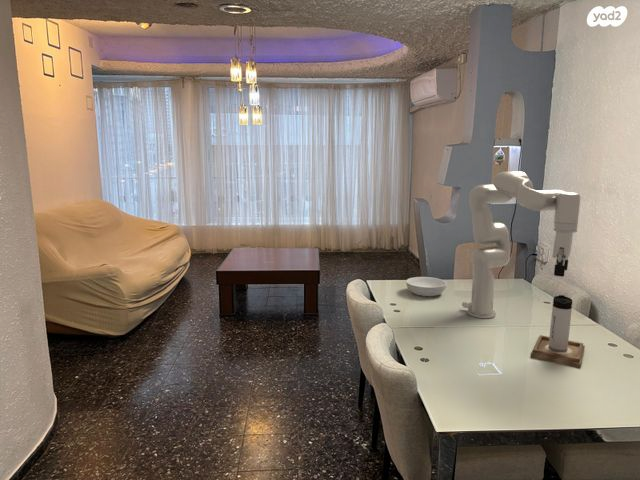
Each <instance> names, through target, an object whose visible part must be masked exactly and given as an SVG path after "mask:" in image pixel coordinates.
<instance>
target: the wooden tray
mask: <svg viewBox="0 0 640 480" xmlns="http://www.w3.org/2000/svg"><path fill="white" fill-rule="evenodd" d="M549 337H550V336H546V335H542V334H541V335H540V334H539V336H538V338H537V340H536V341H535V344H534V347H532V351H531V353H530V358H533V359H538V360H541V361H546V362H551V363H555V364H561V365H564V366H571V367H573V368H574V367H575V368H579V369H580V368H581V367H582V362H583V357H584V353H585V348H586V346H585V345H584V343H583V342H579V341H573V340H569V339H568V348H567V351H566V352H556V351H553V350H551V349H550V348H549Z"/></svg>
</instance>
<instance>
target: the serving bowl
mask: <svg viewBox="0 0 640 480" xmlns="http://www.w3.org/2000/svg"><path fill="white" fill-rule="evenodd" d="M405 282H406V287H407V290H408V291H410V292H411V293H412V294H414V295H417V296H420V295H421V296H420V297H426V296H429V297H436V296H439V295H441V294H442V293H443V292H445V290H446V288H447V281H445V280H443V279H440V278H438V277H432V276H415V277H409V278H407V279H406V280H405Z"/></svg>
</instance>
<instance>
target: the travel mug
mask: <svg viewBox="0 0 640 480" xmlns="http://www.w3.org/2000/svg"><path fill="white" fill-rule="evenodd" d="M551 308H552V309H551V317H550V318H551V319H550V327H549V336H548V337H549V348H550V349H551V350H553V351H556V352H566V351H567V348H568V340H569V338H570V328H571V321H572V320H571V319H572V310H573V300H572V299H571V298H570V297H568V296H566V295H562V294H559V295H556V296H554V297H553V300H552V307H551Z"/></svg>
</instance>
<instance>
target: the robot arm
mask: <svg viewBox="0 0 640 480" xmlns="http://www.w3.org/2000/svg"><path fill="white" fill-rule="evenodd" d="M514 198H515V200H516V201H517V203H518V204H519V205H520V206H522V207H524V208H526V209H528V210H530V211H535V212H544V211H554V217H553V218H554V220H553V227H552V229H553V231H554V232H555V236H554V242H553V250H552V251H553V252H552V259H555V258H556V259H555V264H554V269H553V275H554V276H555V277H561V278H563V277H565V271H568V266H569V265H568V264H569V257H570V255H571V250H572V244H573V235H574V233H577V232H578V225H579V223H578V222H579V214H580V213H579V212H580V204H581V195H580V193H577V192H573V191H570V192H569V191H565V190H561V189H544V190H543V189H542V190H536V189H534V184H533V181H531V180H530V179H529V176H528V175H527V174H526V173H525V172H524V171H520V170H516V171H515V170H514V171H513V170H511V171H501V172H499V173H497V174H495V175H494V177H493V180H492V183H488V184H486V183H485V184H479V185H476V186H475V187H473V188H472V189H471V190H470V193H469V195H468V204H469V207H470V208H469V209H470V212H471V217H472V218H471V219H472V235H473V240H474V242H475V243H476V244H478V245H489V244H493V246H484V247H483V246H482V247H478V248H476V249H474V250H473V251H472V252H471V255H470V260H471V266H472V282H471V299H470V300H471V301H470V302H464V301H462V303H461V305H462V307H463V308H464V309H465V308H467V314H468V315H469V316H470V317H473V318H478V319H492V318H495V317H496V315H497V312H496V311H495V310H494V294H495V276H494V273H493V271H492V268H500V267H504V266H507V265H508V264H509V263H510V261H511V246H510V245H511V244H510V243H511V242H510V233H509V229H508V226H507V225H506V224H504V223H503V222H498V221H495V222H493V212H492V211H491V208H489V206H488V205H487V204H502V203H504V204H505V203H507V202H510V201H511V200H512V199H514Z"/></svg>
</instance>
